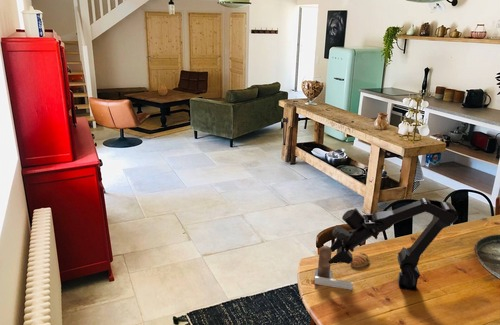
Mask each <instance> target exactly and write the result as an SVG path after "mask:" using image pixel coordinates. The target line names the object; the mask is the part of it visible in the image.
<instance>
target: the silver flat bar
mask: <svg viewBox="0 0 500 325" xmlns="http://www.w3.org/2000/svg"><path fill="white" fill-rule="evenodd" d="M314 277H315V279H314V285H321V286H327V287H333V288H338V289H345V290H351V291H353V286H354V282H353V281H348V280H342V279H335V278H332V279H330V278H324V277H317V276H315V275H314Z"/></svg>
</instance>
